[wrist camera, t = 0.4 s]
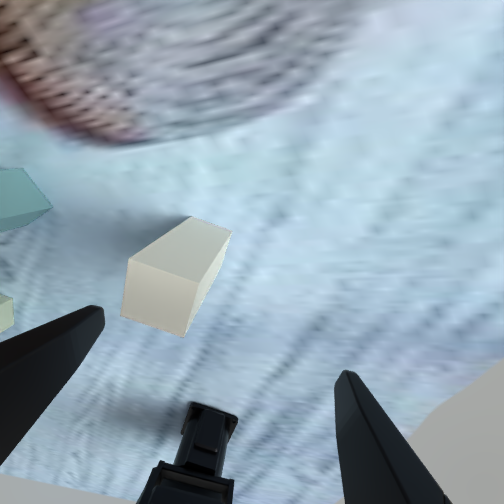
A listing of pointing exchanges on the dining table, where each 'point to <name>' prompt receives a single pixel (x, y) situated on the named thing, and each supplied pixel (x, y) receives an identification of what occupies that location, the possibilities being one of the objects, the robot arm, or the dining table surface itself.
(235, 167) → the dining table surface
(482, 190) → the dining table surface
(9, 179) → the teal post
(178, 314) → the off-white post
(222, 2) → the dining table surface
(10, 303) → the sage post
